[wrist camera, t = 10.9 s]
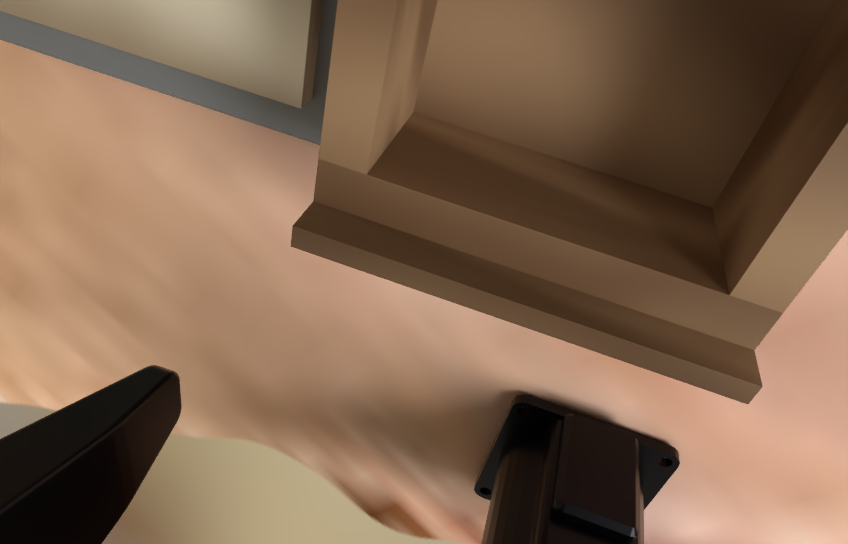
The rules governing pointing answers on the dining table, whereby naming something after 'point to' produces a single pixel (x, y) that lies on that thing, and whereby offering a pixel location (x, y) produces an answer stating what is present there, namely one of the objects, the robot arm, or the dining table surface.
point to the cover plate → (201, 37)
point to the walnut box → (592, 166)
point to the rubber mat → (186, 75)
